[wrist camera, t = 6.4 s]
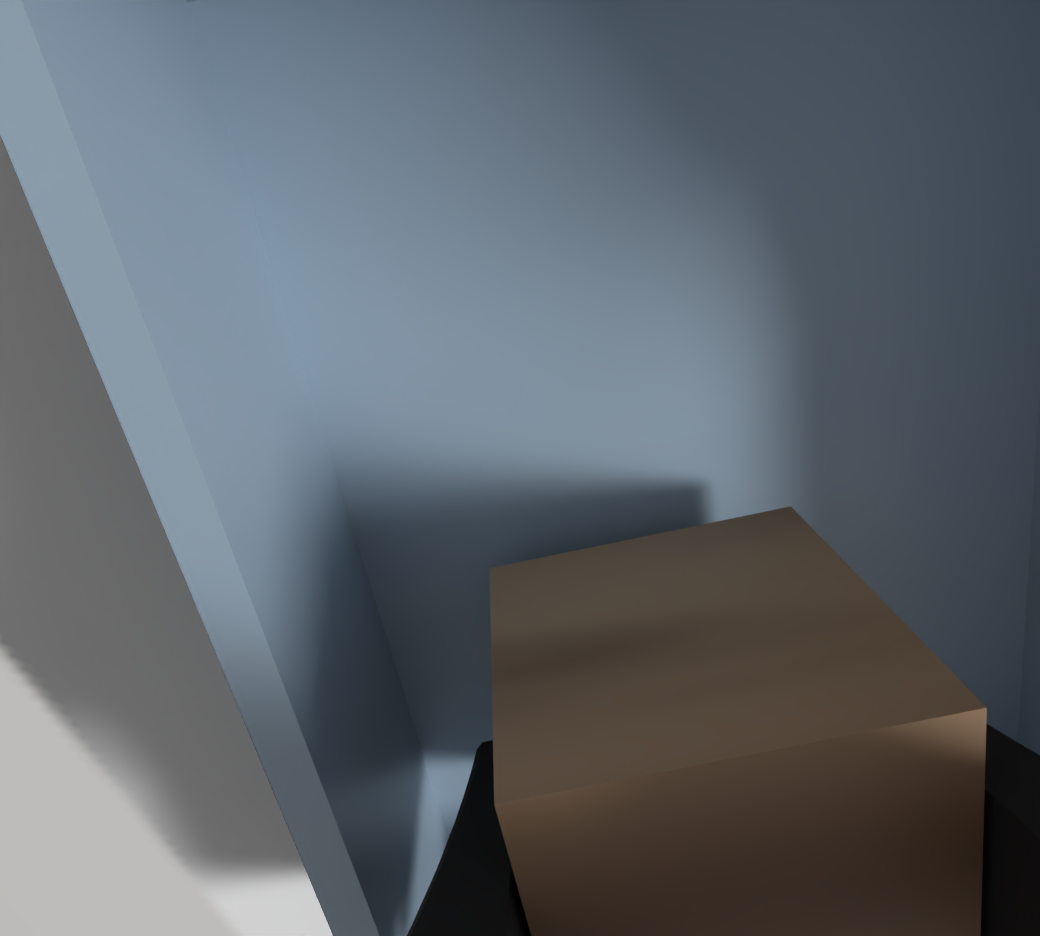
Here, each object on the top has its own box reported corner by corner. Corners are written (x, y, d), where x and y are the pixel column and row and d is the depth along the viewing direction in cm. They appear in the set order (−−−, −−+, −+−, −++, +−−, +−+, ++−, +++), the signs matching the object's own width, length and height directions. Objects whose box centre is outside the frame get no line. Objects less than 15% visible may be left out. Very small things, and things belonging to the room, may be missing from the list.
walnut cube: (809, 747, 14) (977, 1032, 9) (546, 798, 14) (579, 1107, 9) (790, 506, 12) (986, 707, 7) (489, 568, 12) (494, 804, 8)
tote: (1101, -244, 10) (1659, -626, 5) (1031, 754, 16) (1255, 987, 11) (141, -32, 10) (-143, -210, 6) (435, 867, 16) (418, 1139, 12)
